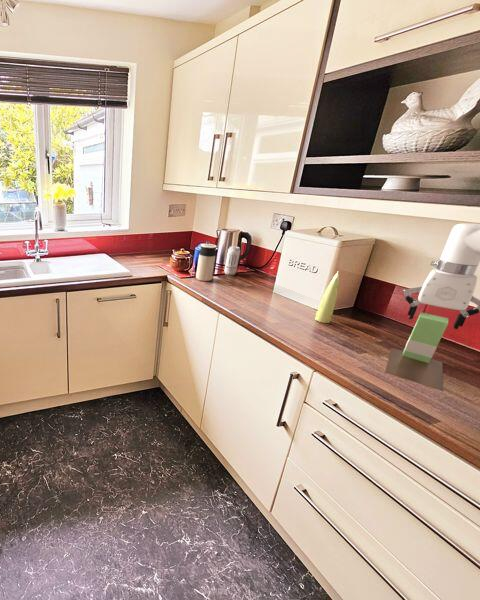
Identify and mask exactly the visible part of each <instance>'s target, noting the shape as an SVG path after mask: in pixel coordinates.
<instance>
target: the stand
mask: <svg viewBox="0 0 480 600" xmlns="http://www.w3.org/2000/svg"><path fill="white" fill-rule="evenodd" d="M403 352H404V350H401V349H397V348H393V347H391V348H390V351H389V354H388V360H387V363H386V366H385V370H384V371H385V372H384V373H385V374H388V375H391V376H395V377H397V378H400V379H404V380H407V381H409V382H412V383H416V384H419V385H423V386H426V387H429V388H431V389H436V390H439V391H442V392H444V373H443V372H444V371H443V370H444V369H443V368H444V367H443V361H440V360H436V359H432V358H431V360H430V362H429V363H426V362H423V361H419V360H416V359H412V358H409V357H405V356H403Z"/></svg>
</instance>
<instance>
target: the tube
mask: <svg viewBox="0 0 480 600" xmlns="http://www.w3.org/2000/svg"><path fill="white" fill-rule="evenodd" d="M339 276H340V275H339V271H337V272H336V273H335V274H334V276H332V279H331V281H330V282H329V284H328V286H327V288H326V289H325V291H324V293H323V296H322V299H321V301H320V303H319V306H318V309H317V311H316V314H315V317H314V320H315V321H317V322H319V323H322V324H329V323H331V320H332V318H333V313H334V311H335V306H336V302H337V297H338V291H339V281H340V280H339V279H340V277H339Z"/></svg>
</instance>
